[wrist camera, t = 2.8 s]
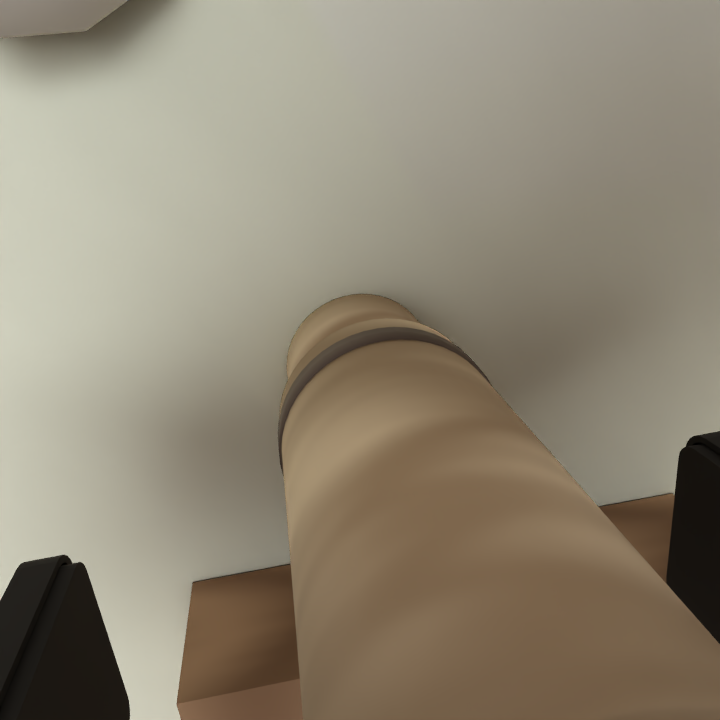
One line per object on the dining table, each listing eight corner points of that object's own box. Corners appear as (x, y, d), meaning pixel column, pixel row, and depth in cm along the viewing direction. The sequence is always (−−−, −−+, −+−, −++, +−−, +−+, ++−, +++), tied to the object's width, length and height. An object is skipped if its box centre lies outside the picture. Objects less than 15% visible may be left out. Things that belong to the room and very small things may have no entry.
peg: (438, 269, 15) (897, 645, 4) (446, 425, 17) (788, 979, 6) (260, 293, 15) (274, 784, 4) (286, 452, 17) (346, 1105, 6)
